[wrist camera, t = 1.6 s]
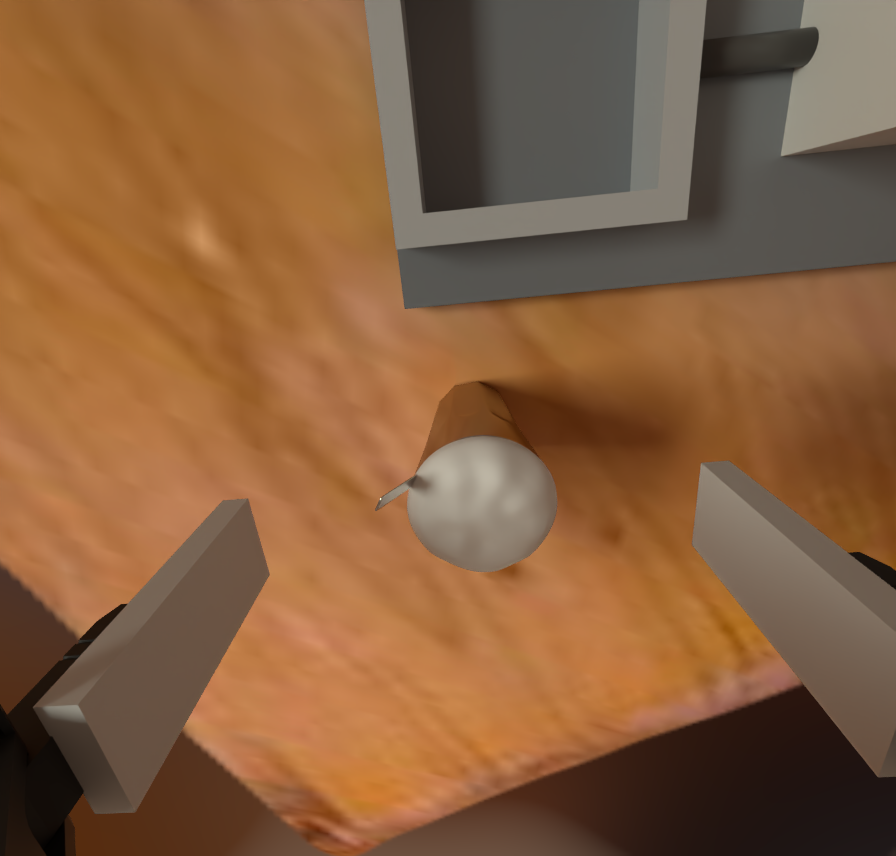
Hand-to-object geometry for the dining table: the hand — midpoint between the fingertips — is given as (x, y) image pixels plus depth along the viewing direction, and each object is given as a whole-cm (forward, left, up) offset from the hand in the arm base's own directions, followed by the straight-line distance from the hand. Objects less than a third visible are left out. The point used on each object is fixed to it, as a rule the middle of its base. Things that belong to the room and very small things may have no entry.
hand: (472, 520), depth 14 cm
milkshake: (0, 0, -9) cm, 9 cm away
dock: (-12, +9, -9) cm, 17 cm away
